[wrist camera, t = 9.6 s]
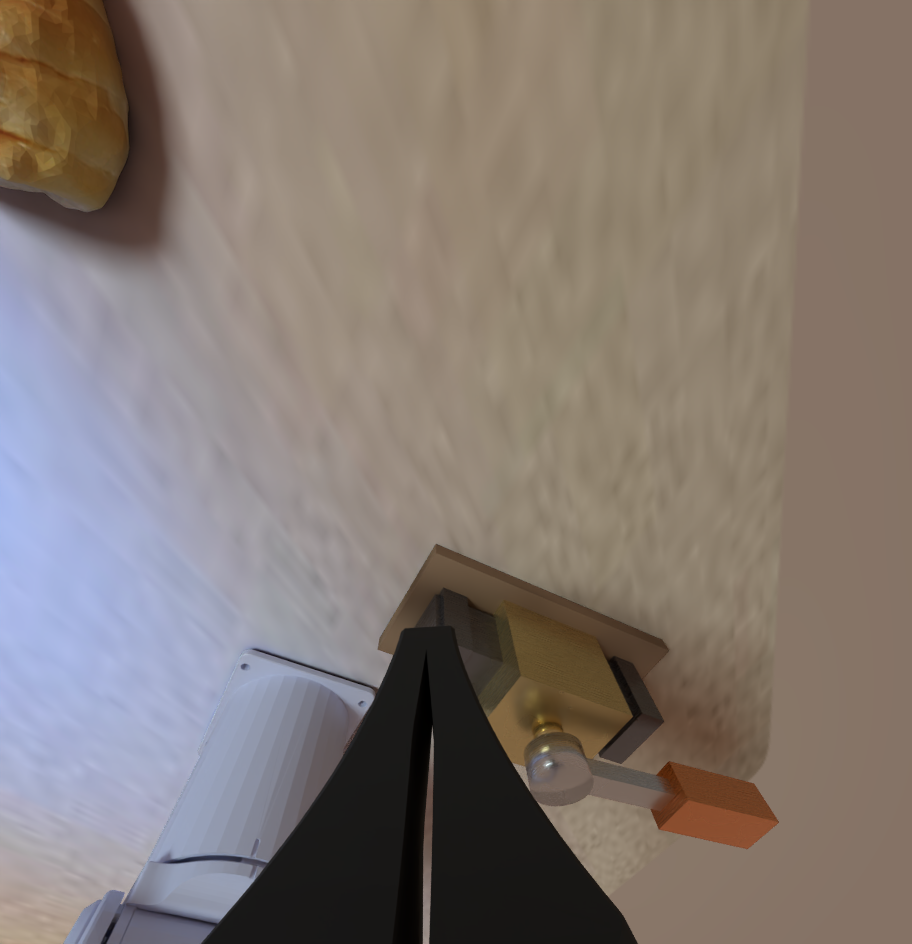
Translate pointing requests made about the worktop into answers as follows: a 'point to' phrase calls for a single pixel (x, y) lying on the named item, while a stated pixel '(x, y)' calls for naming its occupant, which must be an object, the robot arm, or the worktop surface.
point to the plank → (495, 586)
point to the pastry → (61, 102)
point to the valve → (546, 679)
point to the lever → (650, 792)
